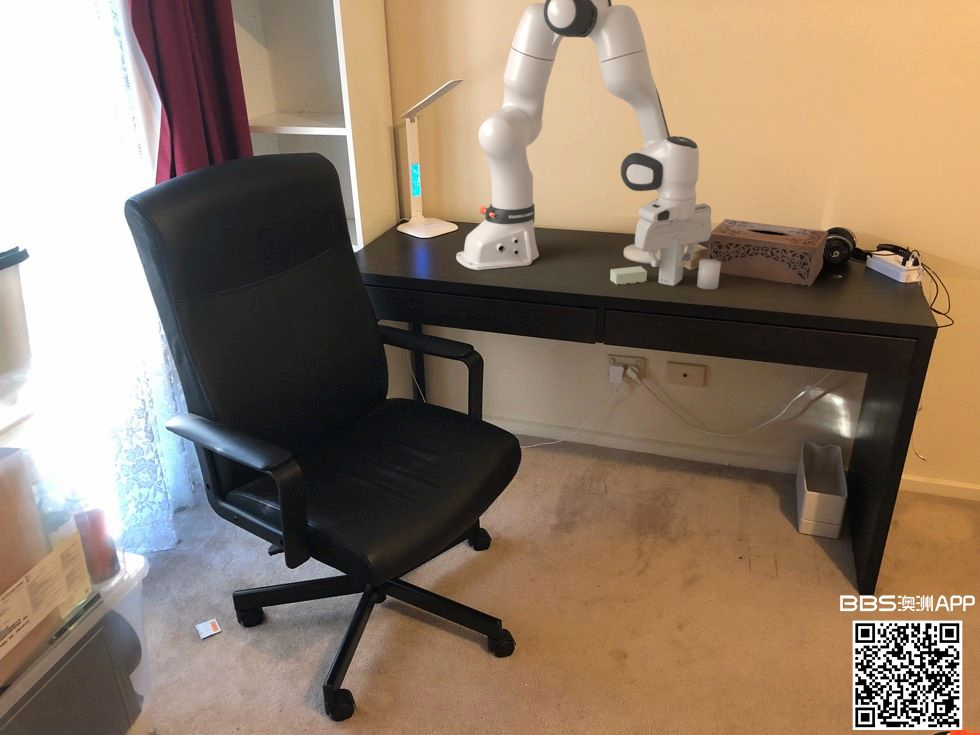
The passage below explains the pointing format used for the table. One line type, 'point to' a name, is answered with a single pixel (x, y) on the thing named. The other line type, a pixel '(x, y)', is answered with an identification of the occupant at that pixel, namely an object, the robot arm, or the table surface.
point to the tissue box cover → (768, 251)
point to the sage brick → (628, 275)
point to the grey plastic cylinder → (708, 274)
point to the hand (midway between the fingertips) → (671, 263)
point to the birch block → (695, 257)
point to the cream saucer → (638, 254)
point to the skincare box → (671, 262)
